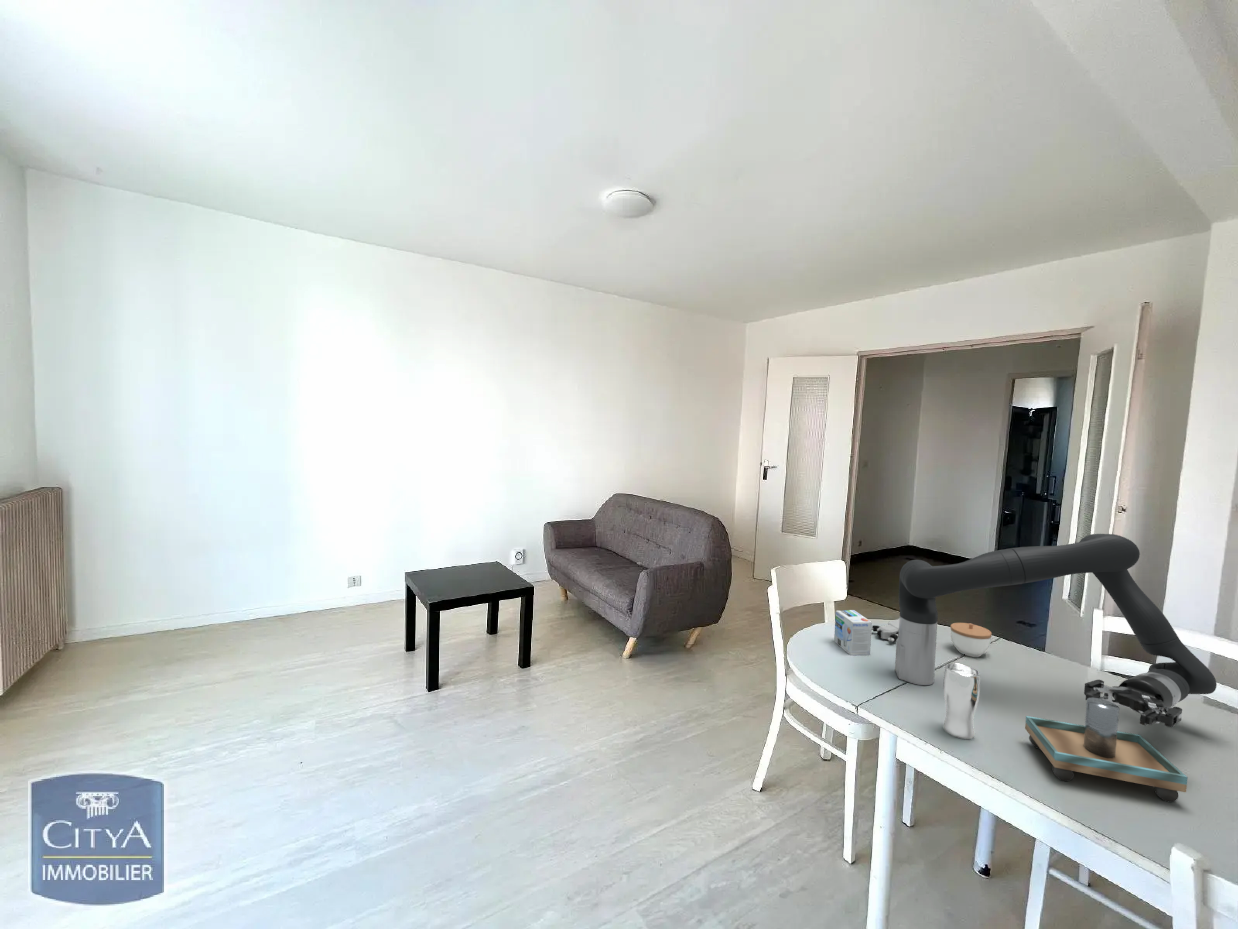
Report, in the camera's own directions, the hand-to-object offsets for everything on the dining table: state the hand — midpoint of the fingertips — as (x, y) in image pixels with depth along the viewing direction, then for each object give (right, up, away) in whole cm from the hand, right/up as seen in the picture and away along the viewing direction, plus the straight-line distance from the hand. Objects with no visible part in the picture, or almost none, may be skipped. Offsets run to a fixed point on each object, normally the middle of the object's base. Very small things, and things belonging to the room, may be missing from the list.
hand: (1115, 709), depth 106 cm
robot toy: (-10, -8, +66) cm, 67 cm away
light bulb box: (-29, -8, +57) cm, 64 cm away
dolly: (-5, -12, -1) cm, 13 cm away
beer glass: (-25, -11, +12) cm, 30 cm away
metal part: (-5, -8, -2) cm, 9 cm away
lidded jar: (+7, -9, +55) cm, 56 cm away
